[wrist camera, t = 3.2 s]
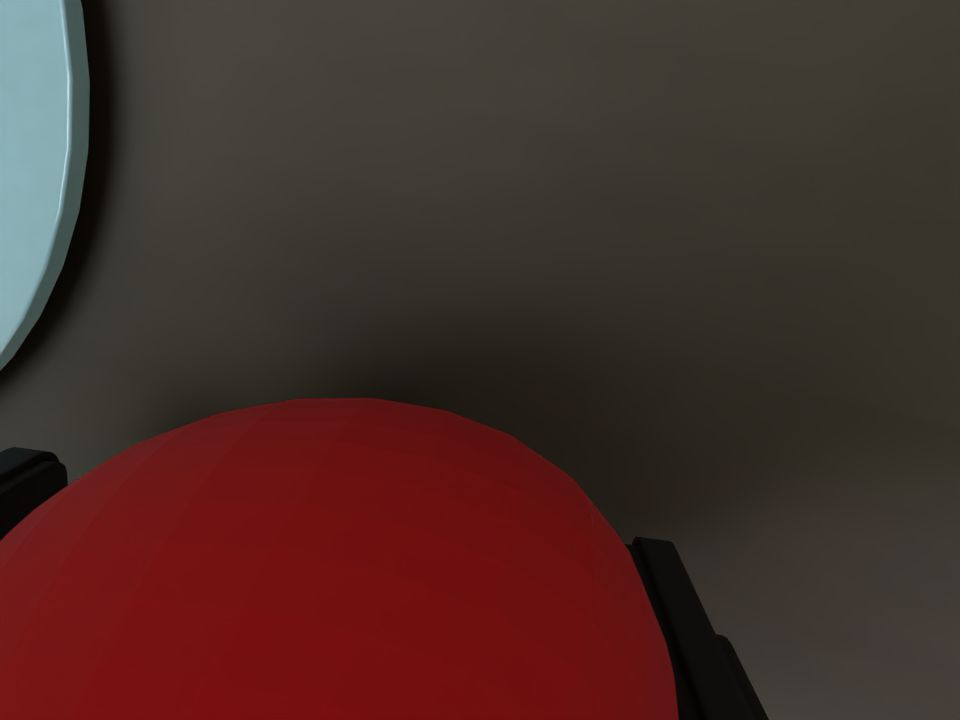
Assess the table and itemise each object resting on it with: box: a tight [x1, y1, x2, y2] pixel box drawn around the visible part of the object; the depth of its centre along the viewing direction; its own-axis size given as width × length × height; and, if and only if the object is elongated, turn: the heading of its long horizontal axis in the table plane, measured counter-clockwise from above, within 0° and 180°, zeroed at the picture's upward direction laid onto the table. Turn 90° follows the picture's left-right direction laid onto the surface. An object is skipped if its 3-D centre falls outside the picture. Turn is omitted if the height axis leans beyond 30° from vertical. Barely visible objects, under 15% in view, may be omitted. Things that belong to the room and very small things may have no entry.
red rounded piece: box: [0, 398, 679, 720], centre depth 8 cm, size 9×7×10 cm
